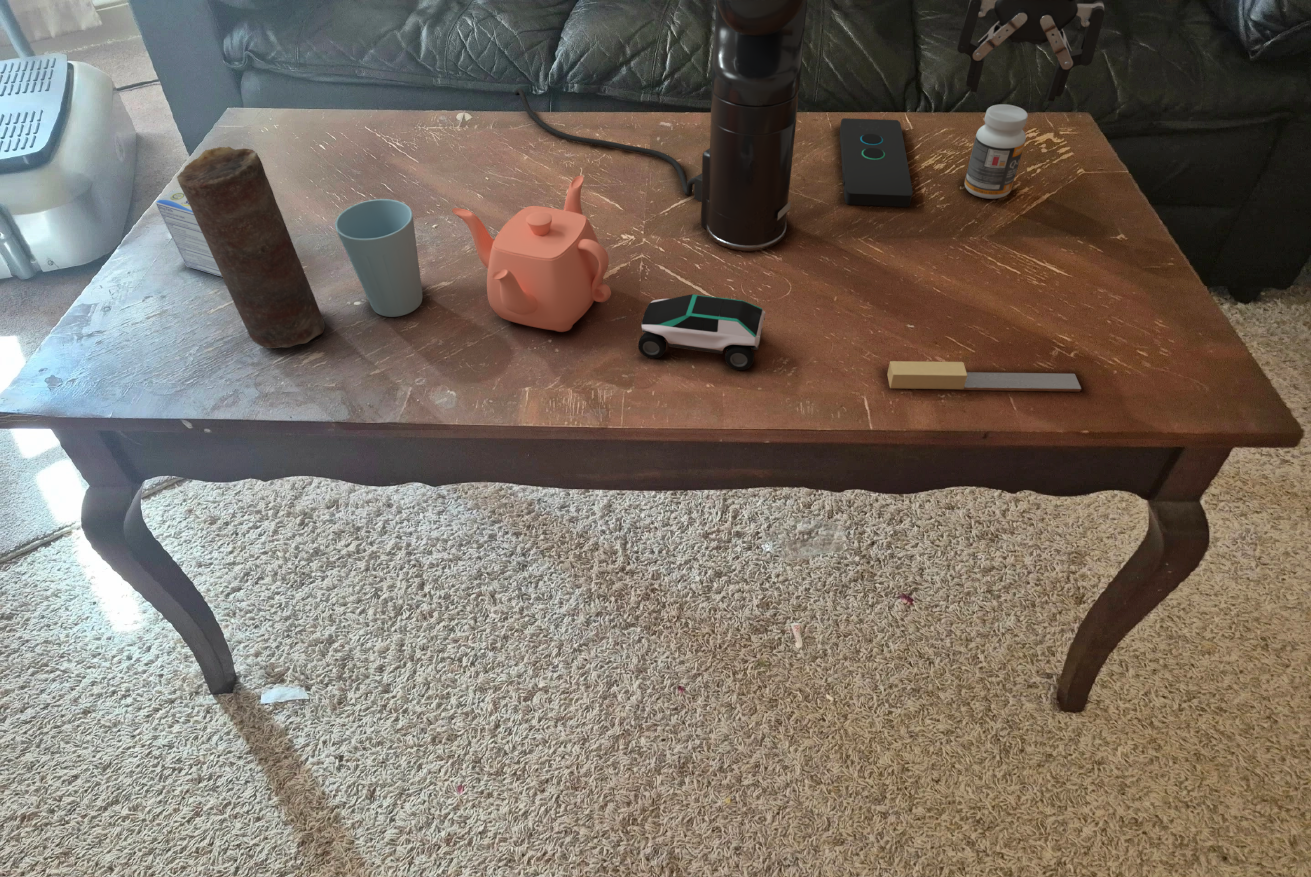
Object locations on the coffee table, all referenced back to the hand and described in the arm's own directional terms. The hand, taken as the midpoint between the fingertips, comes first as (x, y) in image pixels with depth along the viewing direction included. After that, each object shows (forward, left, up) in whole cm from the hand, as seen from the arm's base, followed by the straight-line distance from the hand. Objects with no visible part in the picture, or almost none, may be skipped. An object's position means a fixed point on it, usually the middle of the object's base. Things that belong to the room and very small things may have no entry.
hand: (1011, 93), depth 102 cm
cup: (-37, -63, -12) cm, 74 cm away
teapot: (-25, -53, -12) cm, 60 cm away
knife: (+17, -34, -12) cm, 40 cm away
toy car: (-7, -47, -12) cm, 49 cm away
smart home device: (-14, -4, -12) cm, 19 cm away
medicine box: (-58, -72, -12) cm, 93 cm away
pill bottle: (0, 0, -12) cm, 12 cm away
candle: (-41, -74, -12) cm, 86 cm away
